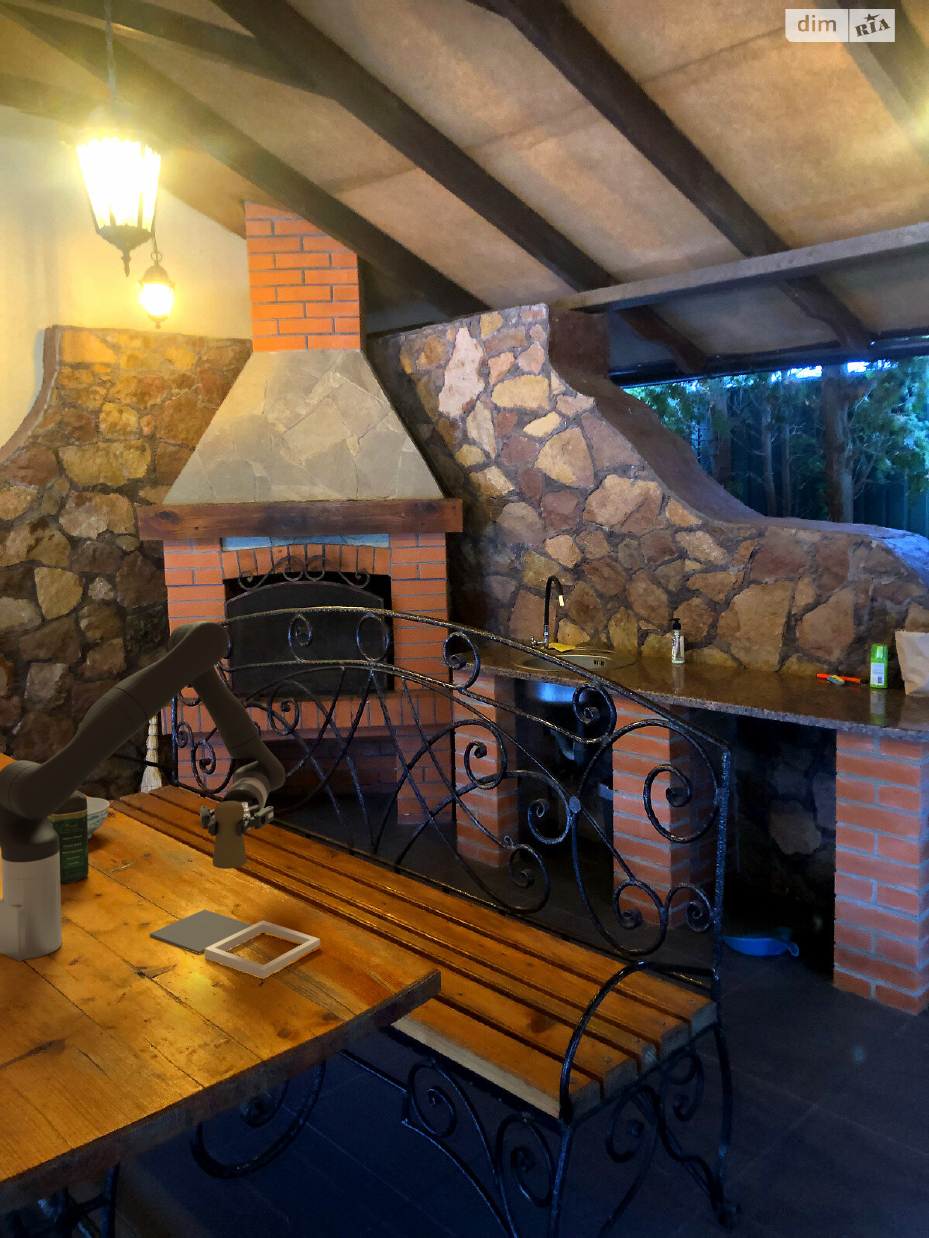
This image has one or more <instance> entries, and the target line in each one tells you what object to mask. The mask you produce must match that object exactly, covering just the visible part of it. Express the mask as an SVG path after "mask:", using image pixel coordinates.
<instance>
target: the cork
mask: <svg viewBox="0 0 929 1238" xmlns="http://www.w3.org/2000/svg"><path fill="white" fill-rule="evenodd" d="M214 809H215V810H214ZM214 809H213V810H214V816H215V819H216V821H217V822H218V823H217V834H216V835H215V838H214V839H215V840H214V848H213V854H212V855H213V858H212V862H211V863H212V866H213V867H214V868H217V869H227V870H230V869H236V868H240V867H242V866H244V865H246V864H247V862H248V860H247V852H246V847H245V846H246V845H245V840H244V834H243V835H242V836H238V835H237V826H238V823H239V821H241V819H242V818H243V816H244V808H243V805H242V804H241V803H239V802H237V801H225V802H219V803H218V804H216V805H215V807H214Z"/></svg>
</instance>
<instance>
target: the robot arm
mask: <svg viewBox="0 0 929 1238" xmlns="http://www.w3.org/2000/svg"><path fill="white" fill-rule="evenodd" d="M229 642H230V640H229V635H228V632H227V630H226V629H225V628H224V626H223V625H221V624H219V623H217V622H215V621H212V620H211V621H210V620H200V621H199V620H198V621H195V622H194V621H193V622H187V623H183V624H180V625H178V626H177V627H175V628H174V629H173V630H172V632H171V633H170V635H169V638H168V642H167V643H168V651H169V652H168V653H166V655H164V656H163V657H161V658H160V659H158V660H156V661H155V662H154V663H152V664H150V665H147V666H146V667H144V668H142V669H141V670H138V671H137V672H135V673H133V674H132V675H129V676H128V677H126V678H124V679H123V680H121V681H119V682H118V683H117V684H116V685H114V686H113V687H111V688H110V689H109V690H108V691H107V692H105V693H104V694H103V695H102V696H101V697H100V698H99V699H97V700H96V701H95V702H94V703H93V704H92V705H91V706H90V708H89V709H88V711H87V712H86V713H85V716H84V718H83V719H82V721H81V724H80V725H79V728H78V729H77V731H76V733H75V735H74V736H73V738H71V740H70V741H69V742H68V743H67V744H65V746H64V747H63V748H62V749H60V750H59V751H58V752H57V753H55V754H54V755H53V756H51V757H50V758H49V759H48V760H46V761H45V762H43V763H37V762H34V761H32V760H31V761H30V760H25V759H24V760H23V759H22V760H16V761H12V762H10V763H8V764H6V765H5V766H4V767H3V768H1V770H0V854H1V855H0V857H1V858H0V859H1V883H2V884H1V885H2V886H1V889H2V890H1V891H2V898H0V954H2V955H4V956H7V957H9V958H11V959H13V960H16V961H18V962H21V961H24V960H27V959H34V958H35V959H36V958H39V957H43V956H46V955H48V954H51V953H53V952H54V951H57V950H58V949H59V948H61V946H62V944H63V936H62V935H63V930H62V929H63V928H62V902H61V901H62V898H61V894H62V893H61V882H60V854H59V837H58V834H57V833H56V831H55V830H54V829H53V827H52V826H51V824H50V822H49V820H48V816H50V815H51V814H53V813H54V812H55V811H57V810H58V809H59V808H60V807H61V806H62V805H63V804H64V803H65V802H66V801H67V800H68V799H69V798H70V796H71V795H72V794H73V793H74V792H75V791H76V790H77V791H78V789H79V787H81V785H83V783H84V782H85V781H86V779H88V778H89V777H90V775H92V773H94V771H96V770H97V769H98V768H99V767H100V766H101V765H102V764H103V763H104V762H105V761H106V760H108V759H109V758H110V757H111V756H113V754H114V753H115V752H116V751H117V750H119V748H121V746H122V745H124V744H125V743H126V742H128V740H130V739H131V738H132V737H134V735H136V734H137V733H138V732H139V731H140V730H141V729H142V728H143V727H145V726H146V725H147V724H148V723H149V722H150V721H151V720H152V719H153V718H154V717H155V716H157V714H159V712H160V711H162V709H164V708H165V707H166V706H167V705H168V704H169V703H170V702H171V701H172V700H174V698H175V697H176V696H177V695H178V694H179V693H181V691H182V690H184V689H185V688H186V687H187V686H188V685H191V687H192V688H193V690H194V692H195V693H196V694H197V695H196V696H198V698H199V699H200V700H201V703H202V704H203V706H204V707H205V709H206V711H207V712H208V714H209V716H210V717H211V720H212V722H213V723H214V725H215V727H216V730H217V731H218V734H219V736H220V738H221V740H222V742H223V744H224V747H225V749H226V751H227V752H228V754H229V756H230V757H231V758H233V759H235V760H237V759H246V758H248V759H254V760H255V761H253V762H251V763H249V764H245V765H244V766H241V767H239V768H238V769H237V770H235V772H234V774H233V784H232V785H231V787H230V788H229V789H228V791H227V792H226V793H225V794H224V796H223V798H222V799H221V802H225V801H237V802H239V803H241V804H242V805H243V808H244V816H243V818H242V819H241V821H239V823H238V826H237V835H238V836H242V835H243V836H244V835H245V834H247V833H248V831H249V830H251V828H254V830H260V829H262V828H263V827H265V826H267V825H268V824H269V823H271V822H273V821H274V806H271V805H269V806H267V807H265V805H266V802H267V798H268V797H269V795H270V792H273V791H275V790H277V789H279V788H281V787H282V786H283V785H285V782H286V771H285V767H284V766H283V765H282V763H281V762H280V761H279V759H278V758H277V757H276V756H275V754H273V752H271V750H270V749H269V748H268V747H267V746H266V744H265V743H264V741H263V739H262V738H261V736H260V735H259V733H258V731H257V729H256V727H255V724H254V722H253V720H252V719H251V716H250V714H249V712H248V711H247V710H246V708H245V707H244V705H243V704H242V703H241V701H240V700H239V699H238V698H237V697H236V695H234V693H232V691H231V690H230V689H229V688H228V687H227V685H226V684H225V682H224V681H223V680H222V679H221V677H220V675H219V674H218V672H217V669H216V667H215V666H216V665H217V664H218V663H219V662H221V660H222V659H223V658H224V657H225V655H226V653H227V651H228V648H229ZM221 802H220V803H221ZM264 807H265V808H264ZM199 809H200V816H199V817H200V818H199V819H200V823H201V826H202V829H203V830H207V834H208V835H209V834H210V837H216V834H217V823H218V822H217V821H216V819H215V816H214V810H215V808H214V809H211V808H210V807H208V806H205V805H203V806H200V808H199Z"/></svg>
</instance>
